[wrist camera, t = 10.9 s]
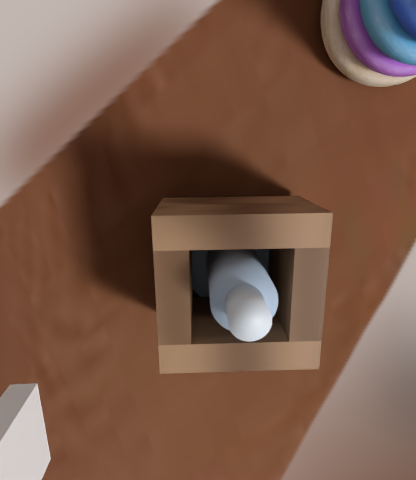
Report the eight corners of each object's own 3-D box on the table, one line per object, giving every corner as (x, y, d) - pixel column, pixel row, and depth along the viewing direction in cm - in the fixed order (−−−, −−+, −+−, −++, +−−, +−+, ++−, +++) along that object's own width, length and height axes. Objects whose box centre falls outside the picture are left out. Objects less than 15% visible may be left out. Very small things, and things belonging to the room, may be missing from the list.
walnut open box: (168, 320, 25) (160, 373, 19) (162, 197, 22) (151, 215, 16) (290, 317, 25) (318, 368, 19) (298, 195, 23) (333, 212, 17)
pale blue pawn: (183, 304, 25) (176, 389, 16) (179, 211, 23) (169, 250, 14) (277, 302, 25) (320, 384, 16) (282, 209, 23) (333, 246, 14)
